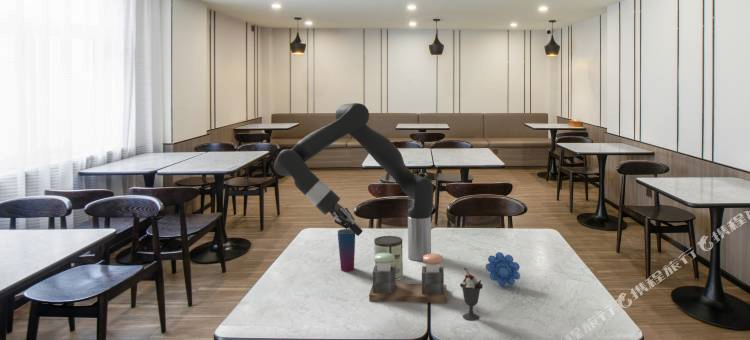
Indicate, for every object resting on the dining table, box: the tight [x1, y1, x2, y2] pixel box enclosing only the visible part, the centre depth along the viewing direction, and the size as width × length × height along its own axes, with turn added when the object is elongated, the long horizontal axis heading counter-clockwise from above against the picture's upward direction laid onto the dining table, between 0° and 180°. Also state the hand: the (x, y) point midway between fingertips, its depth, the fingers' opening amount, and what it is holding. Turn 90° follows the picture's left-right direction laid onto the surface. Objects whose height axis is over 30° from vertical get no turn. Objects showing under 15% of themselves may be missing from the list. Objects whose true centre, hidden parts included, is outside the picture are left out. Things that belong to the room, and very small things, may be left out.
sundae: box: [459, 267, 483, 322], centre depth 156 cm, size 7×7×15 cm
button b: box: [422, 253, 444, 273], centre depth 172 cm, size 6×6×8 cm
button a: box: [374, 253, 394, 272], centre depth 174 cm, size 6×6×8 cm
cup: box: [337, 228, 356, 272], centre depth 200 cm, size 7×7×15 cm
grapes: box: [485, 251, 521, 287], centre depth 179 cm, size 12×7×12 cm, turn 80°
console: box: [368, 264, 448, 304], centre depth 174 cm, size 25×11×9 cm, turn 83°
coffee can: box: [373, 235, 404, 282], centre depth 191 cm, size 10×10×14 cm
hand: (360, 233), depth 173 cm, fingers closed
